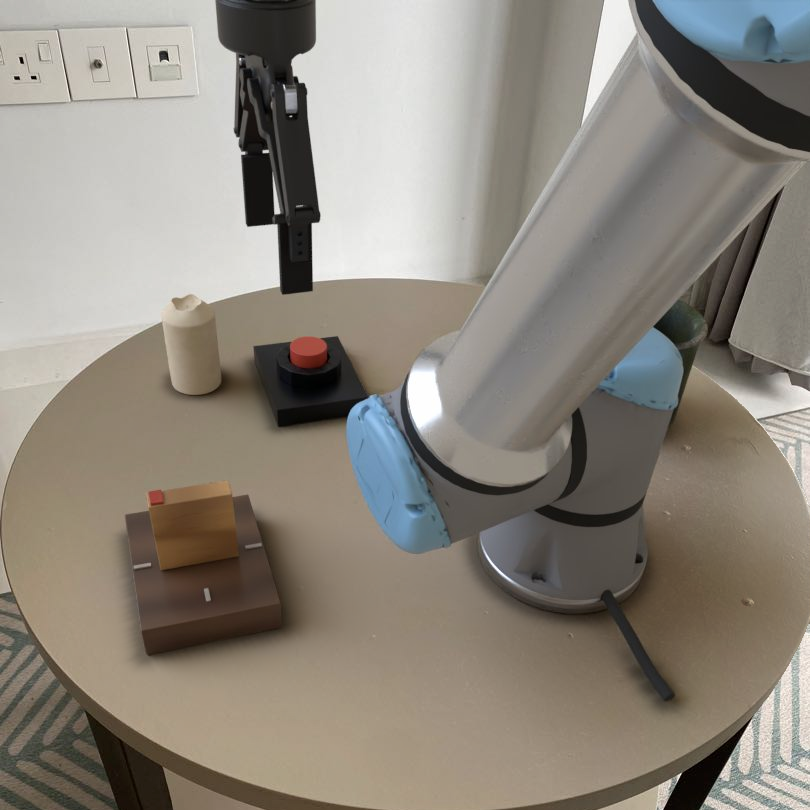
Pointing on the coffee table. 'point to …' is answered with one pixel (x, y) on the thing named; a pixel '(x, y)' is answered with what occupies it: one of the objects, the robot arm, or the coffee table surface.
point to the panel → (202, 588)
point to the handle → (193, 524)
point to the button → (308, 352)
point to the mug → (683, 338)
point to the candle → (191, 345)
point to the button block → (308, 384)
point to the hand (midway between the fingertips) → (277, 256)
